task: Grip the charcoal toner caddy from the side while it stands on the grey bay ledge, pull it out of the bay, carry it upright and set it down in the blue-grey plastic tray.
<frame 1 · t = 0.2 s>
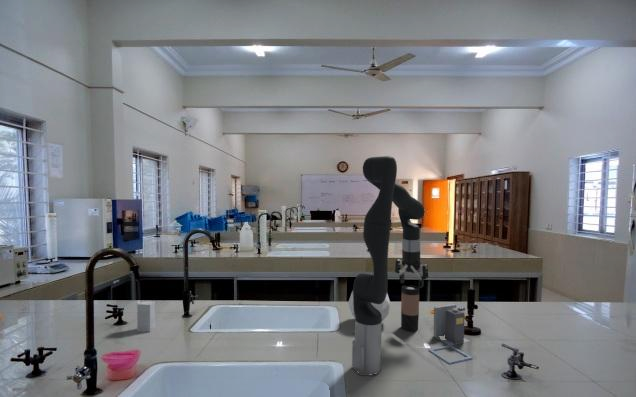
hand: (411, 285, 147), 22 cm above the countertop, tool pointing down, fingers open, 8 cm apart
tray: (449, 358, 128), on the countertop
bay: (452, 342, 141), on the countertop
polyhedron: (368, 323, 161), on the countertop
travel mug: (409, 332, 152), on the countertop
skincare box: (146, 330, 149), on the countertop
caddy: (454, 340, 140), point 1 cm above the countertop, touching bay
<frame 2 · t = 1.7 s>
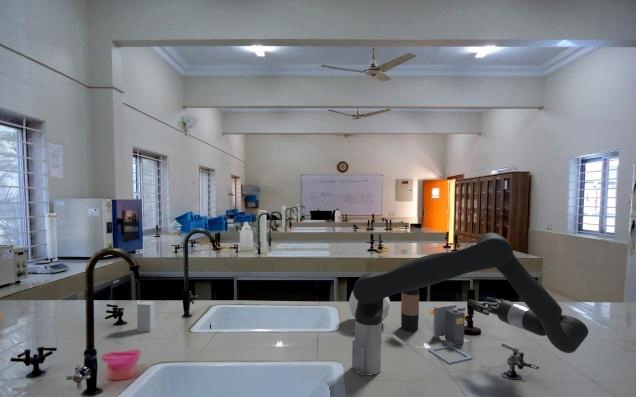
hand: (477, 300, 129), 21 cm above the countertop, tool horizontal, fingers open, 8 cm apart
nothing on the countertop moved.
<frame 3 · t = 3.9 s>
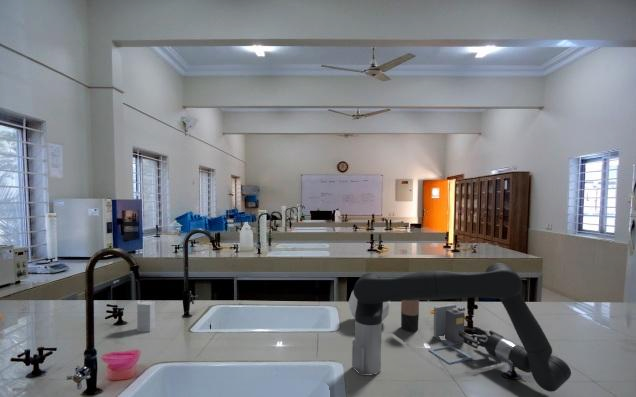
hand: (467, 331, 134), 8 cm above the countertop, tool horizontal, fingers open, 8 cm apart
nothing on the countertop moved.
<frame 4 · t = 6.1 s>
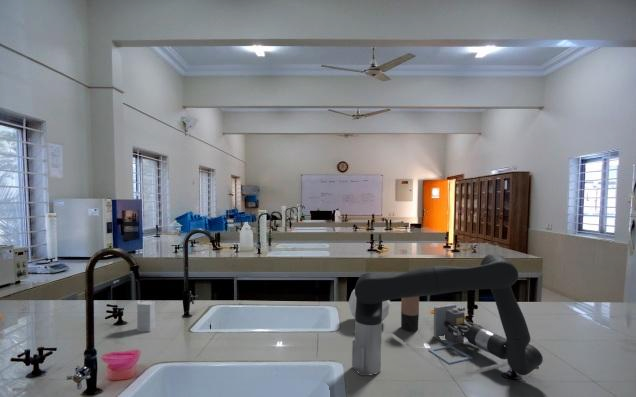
hand: (450, 322, 142), 8 cm above the countertop, tool horizontal, fingers closed on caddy, 5 cm apart
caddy: (454, 340, 140), point 1 cm above the countertop, touching bay, gripper
everything else where it was.
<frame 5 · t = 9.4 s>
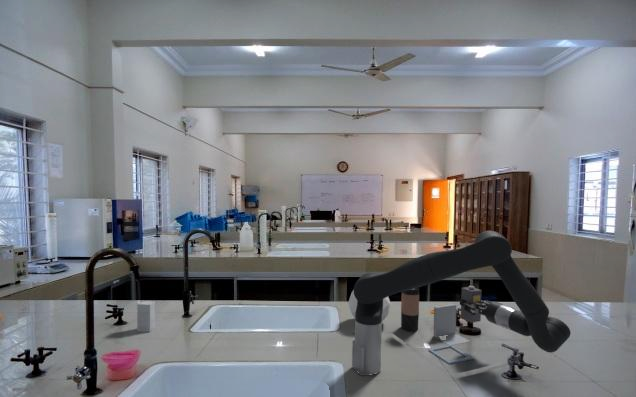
hand: (465, 301, 134), 20 cm above the countertop, tool horizontal, fingers closed on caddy, 5 cm apart
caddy: (470, 319, 132), point 13 cm above the countertop, touching gripper
everything else where it was.
when the fingers open (9 cm above the countertop, at t = 12.6 s): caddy drops 1 cm, resting on tray.
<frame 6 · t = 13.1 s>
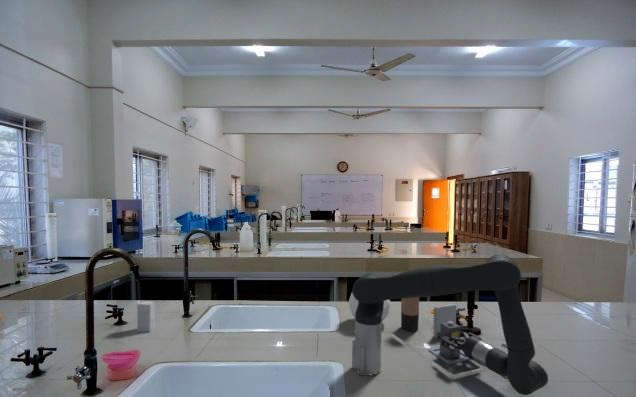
hand: (446, 333, 129), 9 cm above the countertop, tool horizontal, fingers open, 8 cm apart
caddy: (449, 356, 128), point 1 cm above the countertop, touching tray
everything else where it was.
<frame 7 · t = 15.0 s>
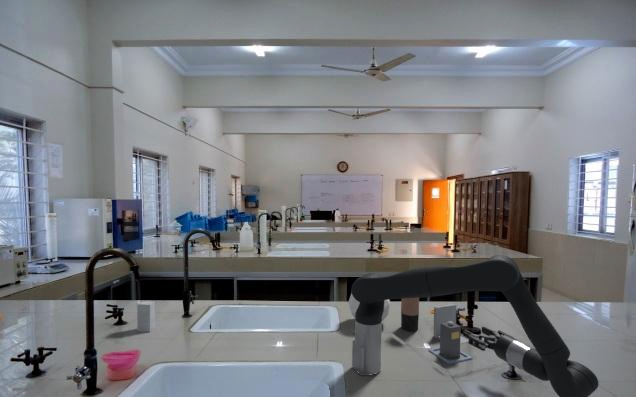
hand: (473, 330, 117), 15 cm above the countertop, tool horizontal, fingers open, 8 cm apart
nothing on the countertop moved.
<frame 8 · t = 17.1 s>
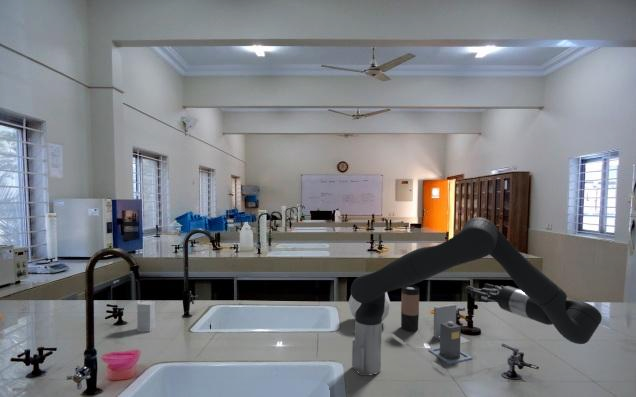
hand: (475, 287, 117), 30 cm above the countertop, tool horizontal, fingers open, 8 cm apart
nothing on the countertop moved.
at the end: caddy inside the target area on the tray (0.1 cm from its centre), point 0.8 cm above the tray's base; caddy tilted 0°; the gripper is holding nothing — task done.
